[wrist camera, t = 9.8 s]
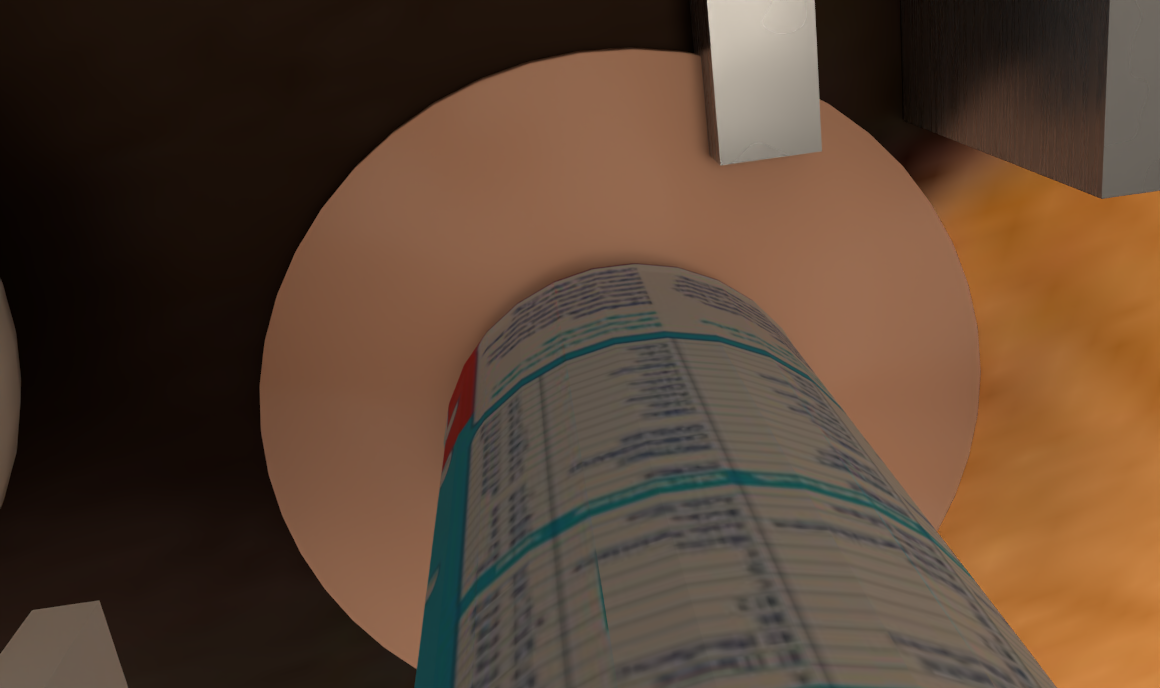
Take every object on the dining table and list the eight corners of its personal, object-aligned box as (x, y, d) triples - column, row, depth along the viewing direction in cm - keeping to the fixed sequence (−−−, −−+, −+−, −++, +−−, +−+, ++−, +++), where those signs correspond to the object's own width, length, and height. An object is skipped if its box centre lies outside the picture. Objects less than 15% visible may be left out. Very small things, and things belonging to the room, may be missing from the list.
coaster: (188, 104, 16) (176, 109, 16) (965, -3, 17) (981, -2, 16) (345, 741, 20) (342, 764, 20) (967, 648, 21) (980, 667, 20)
